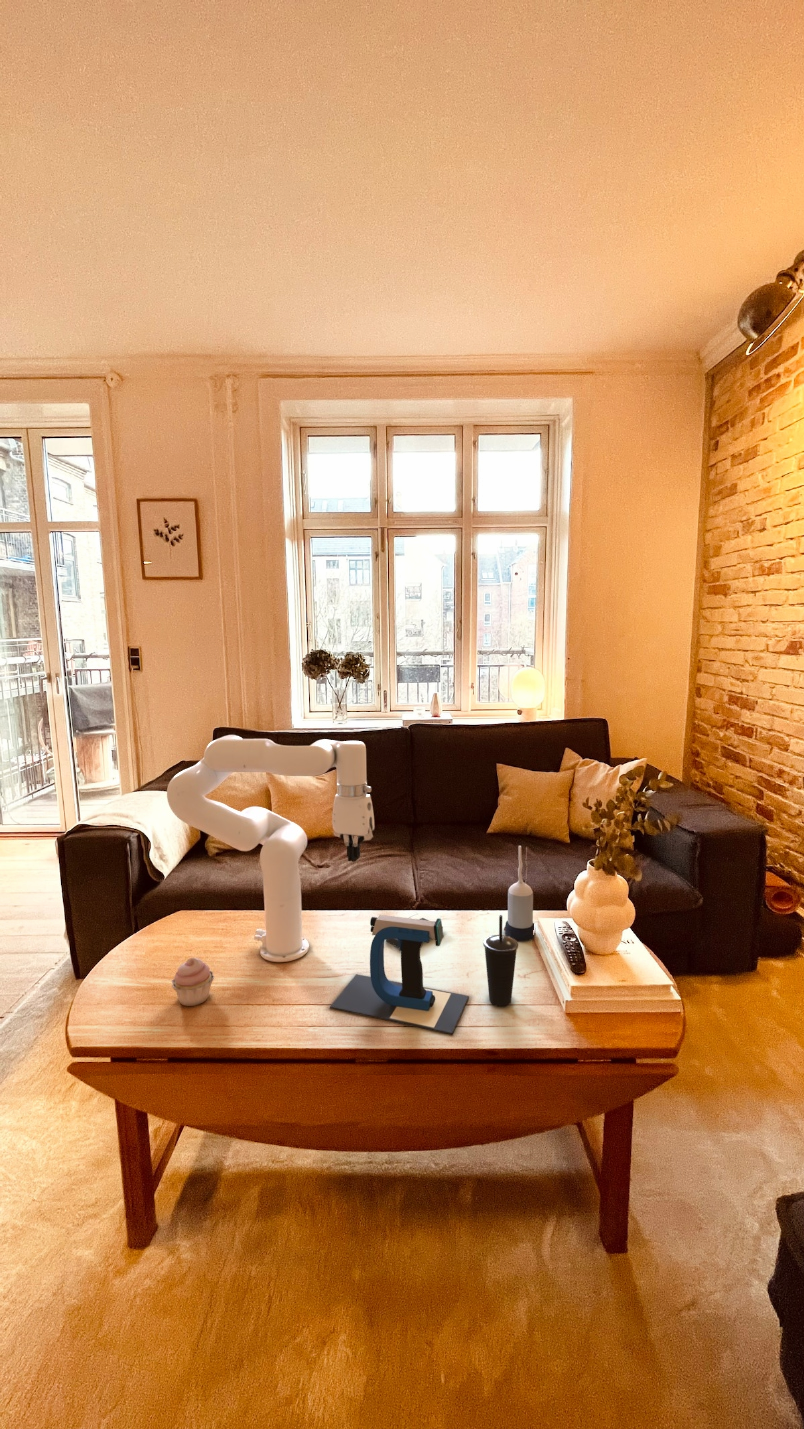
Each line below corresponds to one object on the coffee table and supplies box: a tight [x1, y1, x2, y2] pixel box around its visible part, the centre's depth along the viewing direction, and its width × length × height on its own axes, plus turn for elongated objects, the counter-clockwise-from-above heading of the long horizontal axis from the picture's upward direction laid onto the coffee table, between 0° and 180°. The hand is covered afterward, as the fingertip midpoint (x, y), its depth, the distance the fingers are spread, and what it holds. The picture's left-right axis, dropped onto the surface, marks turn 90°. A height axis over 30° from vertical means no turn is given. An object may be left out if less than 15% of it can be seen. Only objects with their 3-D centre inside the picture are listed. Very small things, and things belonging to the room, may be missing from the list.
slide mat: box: [329, 973, 470, 1035], centre depth 135 cm, size 28×14×1 cm, turn 70°
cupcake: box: [171, 957, 215, 1007], centre depth 137 cm, size 9×9×10 cm
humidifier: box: [503, 845, 535, 942], centre depth 165 cm, size 8×8×25 cm
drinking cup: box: [482, 914, 519, 1008], centre depth 134 cm, size 8×8×20 cm
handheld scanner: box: [369, 914, 444, 1011], centre depth 133 cm, size 5×16×20 cm, turn 75°
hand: (353, 859), depth 154 cm, fingers closed
